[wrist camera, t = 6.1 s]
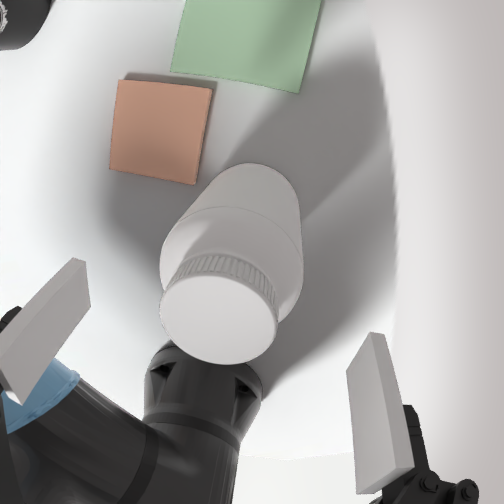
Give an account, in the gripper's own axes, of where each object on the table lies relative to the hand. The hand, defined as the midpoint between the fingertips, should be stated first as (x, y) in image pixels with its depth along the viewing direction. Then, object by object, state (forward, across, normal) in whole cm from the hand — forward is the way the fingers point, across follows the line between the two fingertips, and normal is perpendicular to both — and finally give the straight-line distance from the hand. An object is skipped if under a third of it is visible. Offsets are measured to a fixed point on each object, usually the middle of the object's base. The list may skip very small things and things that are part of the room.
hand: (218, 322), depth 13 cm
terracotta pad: (+15, +9, -5) cm, 18 cm away
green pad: (+15, +4, -15) cm, 21 cm away
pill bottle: (+15, 0, 0) cm, 15 cm away
